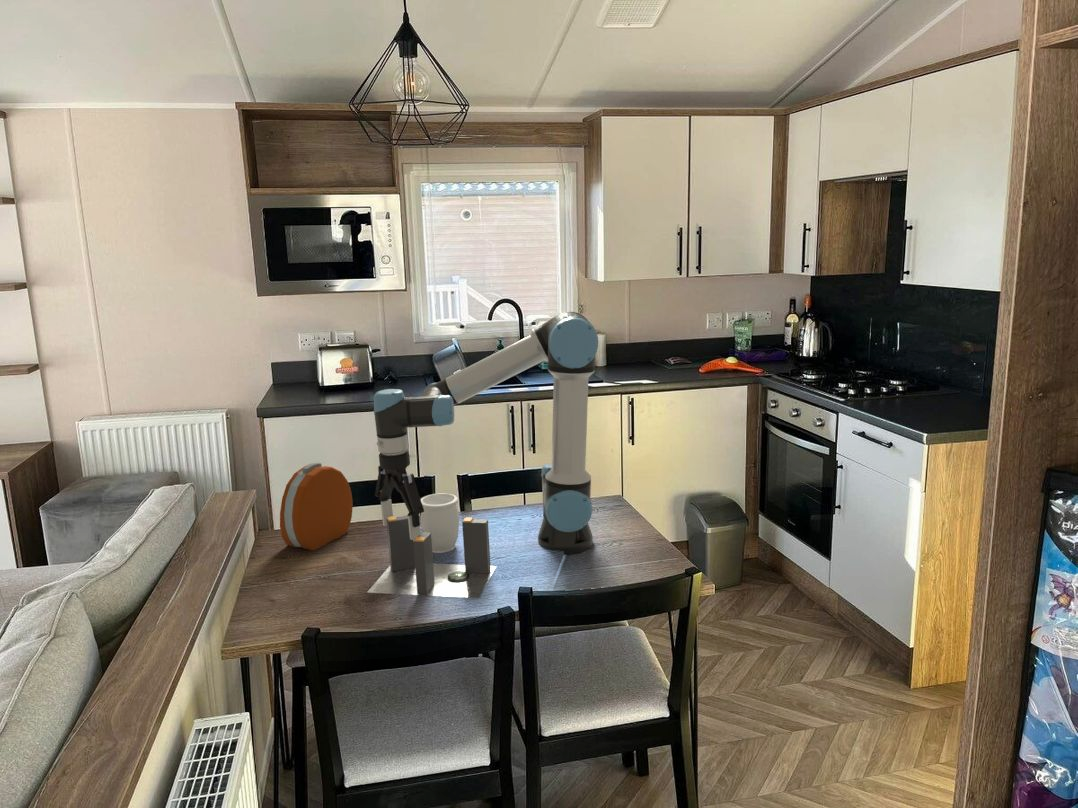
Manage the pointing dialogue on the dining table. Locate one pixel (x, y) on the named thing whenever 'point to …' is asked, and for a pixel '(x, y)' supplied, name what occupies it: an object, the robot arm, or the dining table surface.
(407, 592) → the plate
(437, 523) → the jar
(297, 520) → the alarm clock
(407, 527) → the grey tall block
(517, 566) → the dining table surface
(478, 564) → the grey tall block piece
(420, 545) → the grey standing slab
